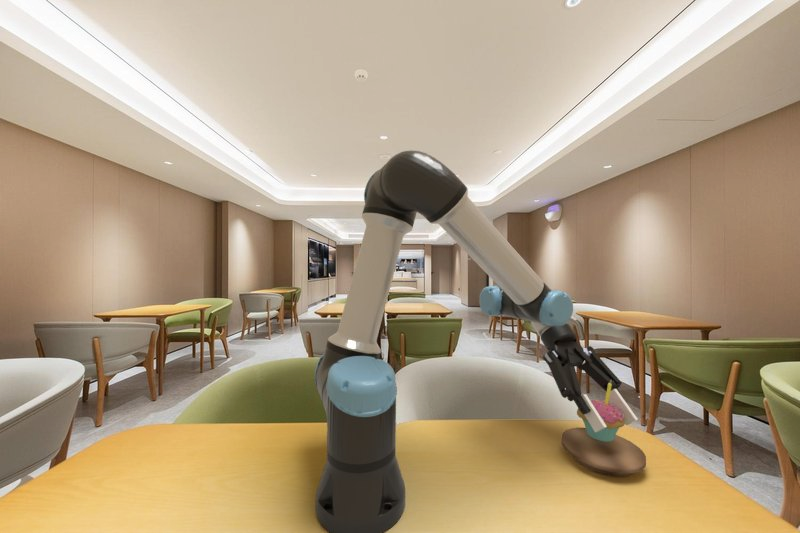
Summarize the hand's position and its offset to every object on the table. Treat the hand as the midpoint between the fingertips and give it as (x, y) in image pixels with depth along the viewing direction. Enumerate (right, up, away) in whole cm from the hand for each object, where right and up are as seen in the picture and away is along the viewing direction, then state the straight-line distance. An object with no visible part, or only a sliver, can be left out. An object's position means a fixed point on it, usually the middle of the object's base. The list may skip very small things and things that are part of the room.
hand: (616, 425), depth 64 cm
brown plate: (-1, -9, +3) cm, 9 cm away
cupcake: (-1, -4, +3) cm, 5 cm away
